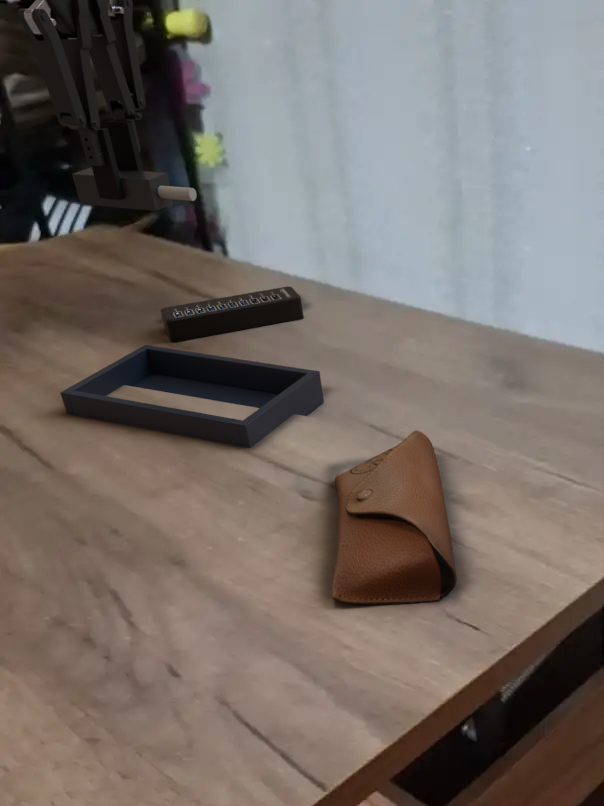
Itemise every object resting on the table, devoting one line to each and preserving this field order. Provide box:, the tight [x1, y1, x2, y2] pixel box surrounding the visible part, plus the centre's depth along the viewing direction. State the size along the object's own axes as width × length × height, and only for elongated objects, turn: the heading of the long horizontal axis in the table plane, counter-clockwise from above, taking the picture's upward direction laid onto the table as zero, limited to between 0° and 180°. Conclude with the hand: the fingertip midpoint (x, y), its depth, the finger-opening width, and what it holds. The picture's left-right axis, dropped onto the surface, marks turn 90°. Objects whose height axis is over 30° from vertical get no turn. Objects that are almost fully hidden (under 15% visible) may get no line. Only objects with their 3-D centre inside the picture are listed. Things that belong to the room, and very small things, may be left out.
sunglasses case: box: [331, 430, 458, 606], centre depth 68 cm, size 18×7×7 cm
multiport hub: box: [160, 286, 304, 343], centre depth 103 cm, size 4×14×2 cm, turn 114°
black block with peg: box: [71, 166, 197, 212], centre depth 100 cm, size 14×3×3 cm, turn 67°
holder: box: [59, 344, 325, 449], centre depth 85 cm, size 20×12×3 cm, turn 66°
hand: (123, 193), depth 101 cm, fingers closed on black block with peg, 3 cm apart
